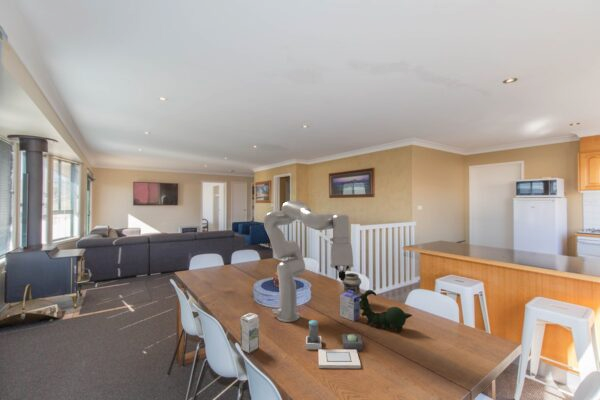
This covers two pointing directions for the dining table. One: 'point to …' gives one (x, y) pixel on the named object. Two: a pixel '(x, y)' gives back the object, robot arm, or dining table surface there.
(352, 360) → the picture board
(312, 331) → the marker
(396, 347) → the dining table surface
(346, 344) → the button housing
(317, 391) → the dining table surface
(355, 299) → the ink cartridge box
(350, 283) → the apothecary jar
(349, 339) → the button
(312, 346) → the marker holder
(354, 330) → the dining table surface
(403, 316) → the toy figurine
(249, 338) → the syrup box
